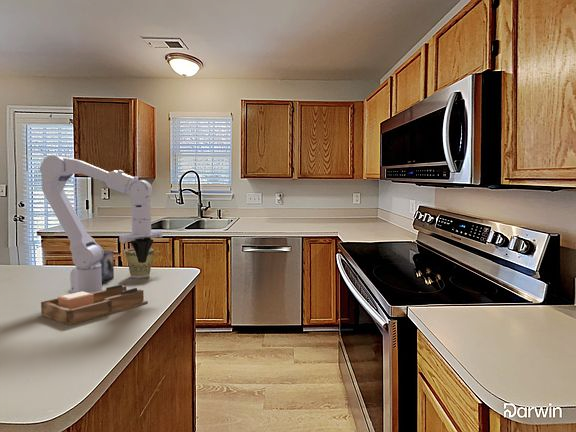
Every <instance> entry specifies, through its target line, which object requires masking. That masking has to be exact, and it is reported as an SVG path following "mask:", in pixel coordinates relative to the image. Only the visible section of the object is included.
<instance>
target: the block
mask: <svg viewBox="0 0 576 432" xmlns="http://www.w3.org/2000/svg"><path fill="white" fill-rule="evenodd" d="M57 298H58V305H59V306H62V307H65V308H68V309H74V308H78V307H82V306H86V305H90V304H94V295H93V294H91V293H87V292H83V291H82V292H77V293H73V294H68V293H67V294H64V295H61V296H58V297H57Z"/></svg>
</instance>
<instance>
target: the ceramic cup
mask: <svg viewBox="0 0 576 432" xmlns="http://www.w3.org/2000/svg"><path fill="white" fill-rule="evenodd" d="M156 253H159V254H160V255H159V256H158V257H157V258H155V260H154V261H153V257H154V255H155V254H156ZM161 256H162V251H160V249H159V250H157V249H156V250H154V248H151V247H150V249H149V252H148V255H147V260H146V262H145V263H140V262H138V258H137V255H136V252H135V250H134V248H133V247H132V248H128V249H125V257H126V260H127V261H126V262H127V266H128V271H129V275H130V278H132V279H145V278H148V277H150V275H151V269H152V266H153V265H154V264H155V262H157V261H158V259H160V258H161ZM152 261H153V262H152Z"/></svg>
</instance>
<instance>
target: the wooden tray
mask: <svg viewBox="0 0 576 432" xmlns="http://www.w3.org/2000/svg"><path fill="white" fill-rule="evenodd" d="M91 294H93V295H94V304H90V305H86V306H82V307H78V308H74V309H68V308H65V307H62V306H59V305H58V297H57V298H53V299H48V300H44V301H40V311H41V316H42V317H45V318H48V319H51V320H53V321H57V322H59V323H62V324H64V323H65V324H64V325H67V326H71V325H75V324H76V325H77V324H79V323H82V322H83V323H84V322H86V321H89V320H93V319H96V318H100V317H103V316H108V315H112V314H115V313H118V312H121V311H125V310H129V309H132V308H136V307H140V306H143V305H147V304H149V301H148V300H145V299H144V295H145V294H144V290H143V289H138V288H137V287H134V288H130V289H127V285H124V284H122V283H120V284H118V285H111V286H108V287H106V289H102V290H101V291H97V292H92V293H91Z"/></svg>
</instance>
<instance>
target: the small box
mask: <svg viewBox="0 0 576 432" xmlns="http://www.w3.org/2000/svg"><path fill="white" fill-rule="evenodd" d="M103 251H104V255H103V258H102V259H101V260H100V263H101V275H102V284H103V283H106V282H108V281H110V280H114V279H115V278H114V277H115V275H114V273H115V272H114V271H115V270H114V265H115V263H114V261H115V260H114V257H115V256H114V250H106V249H105V250H104V249H103Z"/></svg>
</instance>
